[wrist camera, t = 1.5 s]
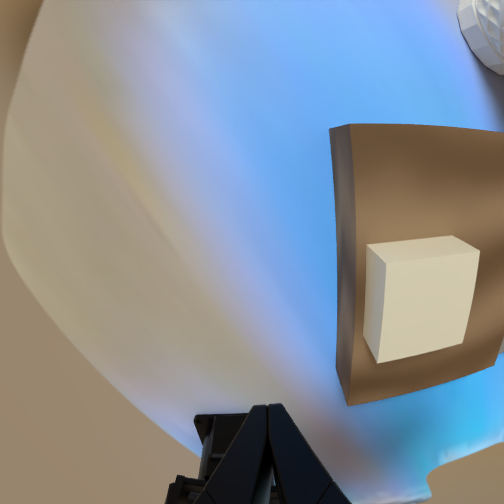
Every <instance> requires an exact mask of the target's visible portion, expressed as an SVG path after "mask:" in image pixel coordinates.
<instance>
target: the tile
mask: <svg viewBox="0 0 504 504" xmlns="http://www.w3.org/2000/svg"><path fill="white" fill-rule="evenodd" d="M479 255H480V251H479V250H478V249H476V248H474V247H472V246H471V245H469V244H467V243H465V242H464V241H462V240H460V239H458V238H456V237H454V236H453V235H451V236H442V237H433V238H424V239H414V240H405V241H396V242H387V243H377V244H368V245H366V291H365V311H364V327H363V336H364V338H365V340H366V342H367V344H368V346H369V348H370V350H371V352H372V354H373V356H374V358H375V360H376V362H377V364H378V363H383V362H388V361H392V360H397V359H402V358H406V357H411V356H415V355H419V354H423V353H427V352H431V351H435V350H439V349H443V348H446V347H450V346H454V345H457V344H461V343H463V339H464V335H465V331H466V327H467V323H468V318H469V314H470V309H471V304H472V299H473V294H474V288H475V282H476V276H477V270H478V263H479Z"/></svg>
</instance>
